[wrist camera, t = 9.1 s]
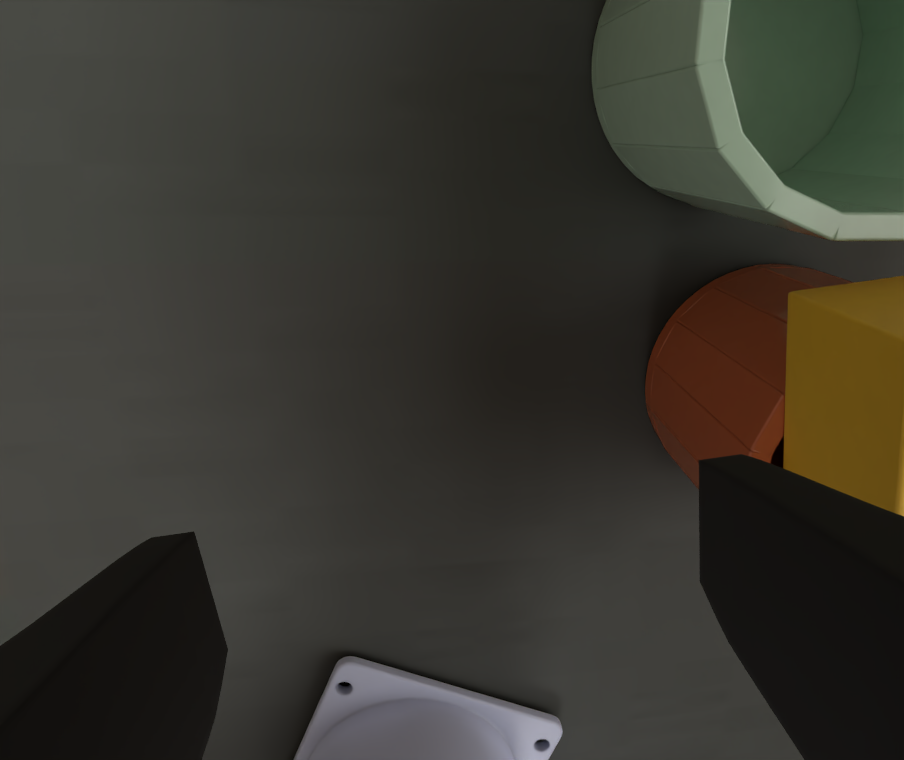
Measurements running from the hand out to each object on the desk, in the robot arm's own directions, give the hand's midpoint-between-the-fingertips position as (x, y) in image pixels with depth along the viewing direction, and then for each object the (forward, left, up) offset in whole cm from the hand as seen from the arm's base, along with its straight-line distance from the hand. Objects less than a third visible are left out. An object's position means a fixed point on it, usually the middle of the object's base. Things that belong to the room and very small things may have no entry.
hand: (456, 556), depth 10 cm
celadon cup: (+10, -4, -10) cm, 15 cm away
